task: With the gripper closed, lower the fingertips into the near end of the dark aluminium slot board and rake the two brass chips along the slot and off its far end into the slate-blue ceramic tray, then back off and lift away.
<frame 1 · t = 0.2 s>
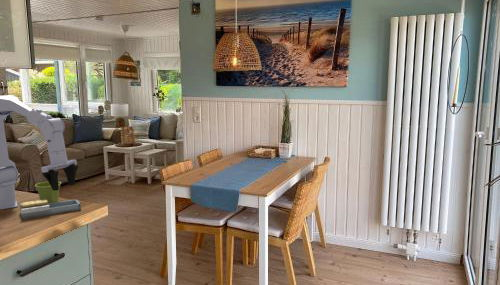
hand: (64, 187, 143), 11 cm above the table, tool pointing down, fingers open, 7 cm apart
brass chip 1: (41, 207, 147), point 2 cm above the table, touching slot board
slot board: (35, 213, 146), on the table
brass chip 2: (28, 209, 144), point 2 cm above the table, touching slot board
tray: (48, 211, 148), on the table
plant pot: (49, 205, 157), on the table
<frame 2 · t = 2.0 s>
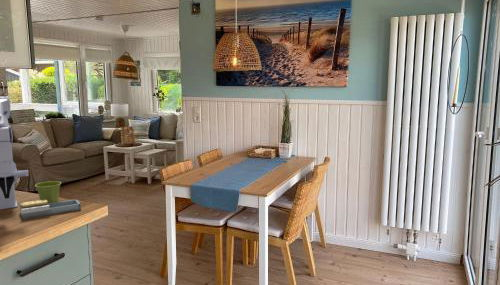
hand: (7, 197, 140), 8 cm above the table, tool pointing down, fingers closed
nothing on the table moved.
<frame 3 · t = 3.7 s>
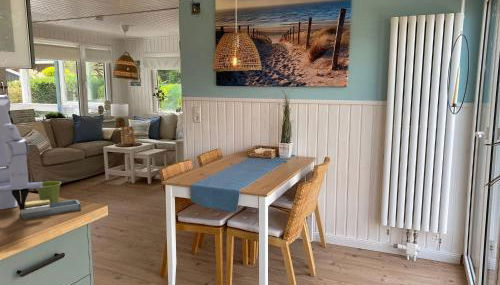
hand: (21, 209, 143), 3 cm above the table, tool pointing down, fingers closed
brass chip 2: (31, 209, 145), point 2 cm above the table, touching gripper, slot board
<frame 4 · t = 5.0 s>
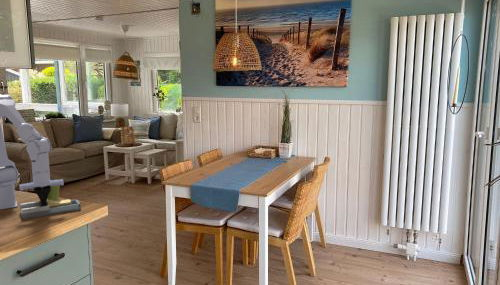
hand: (43, 206, 147), 3 cm above the table, tool pointing down, fingers closed
brass chip 1: (64, 207, 151), point 1 cm above the table, touching brass chip 2
brass chip 2: (51, 207, 148), point 2 cm above the table, tilted 24°, touching brass chip 1, gripper, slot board
everything else where it was.
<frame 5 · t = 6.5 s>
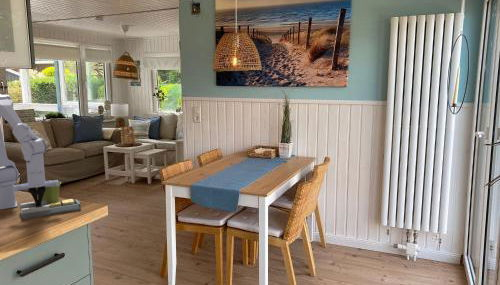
hand: (38, 206, 146), 2 cm above the table, tool pointing down, fingers closed
brass chip 1: (68, 207, 152), point 1 cm above the table, touching tray
brass chip 2: (54, 209, 149), point 1 cm above the table, touching tray
everything else where it was.
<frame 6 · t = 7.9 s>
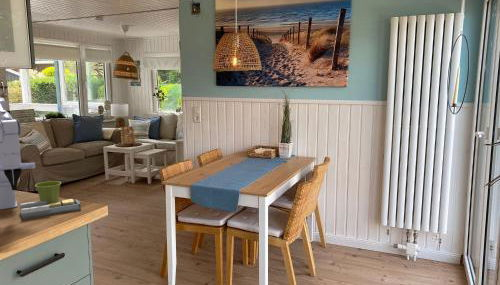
hand: (14, 189, 142), 10 cm above the table, tool pointing down, fingers closed
nothing on the table moved.
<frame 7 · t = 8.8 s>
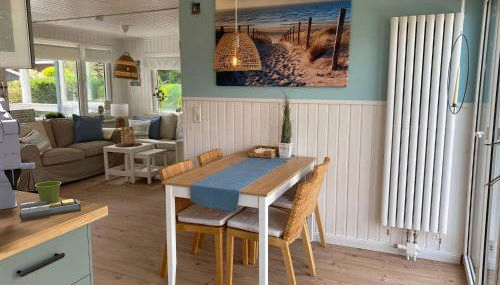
hand: (14, 189, 142), 10 cm above the table, tool pointing down, fingers closed
nothing on the table moved.
at the end: brass chip 1 inside the target area (1.3 cm from its centre), point 0.6 cm above the table; brass chip 2 inside the target area (3.3 cm from its centre), point 0.6 cm above the table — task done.
